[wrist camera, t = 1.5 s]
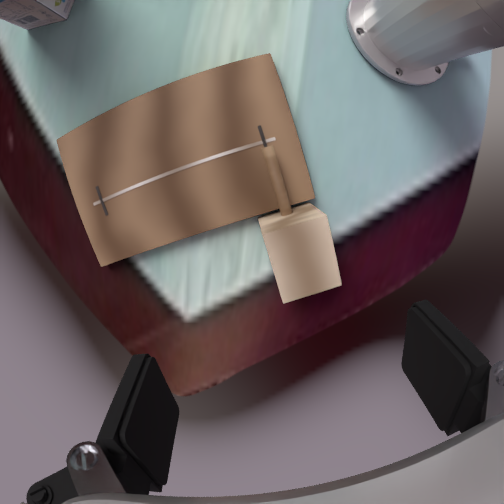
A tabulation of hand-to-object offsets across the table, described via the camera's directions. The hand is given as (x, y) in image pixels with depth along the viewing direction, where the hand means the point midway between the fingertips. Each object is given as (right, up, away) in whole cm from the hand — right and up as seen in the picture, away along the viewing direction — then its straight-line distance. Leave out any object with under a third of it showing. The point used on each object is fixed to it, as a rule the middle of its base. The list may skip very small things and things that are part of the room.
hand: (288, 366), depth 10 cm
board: (-8, +12, +16) cm, 22 cm away
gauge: (+2, +8, +18) cm, 19 cm away
